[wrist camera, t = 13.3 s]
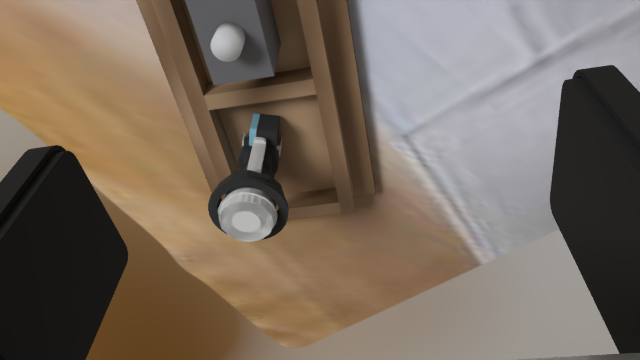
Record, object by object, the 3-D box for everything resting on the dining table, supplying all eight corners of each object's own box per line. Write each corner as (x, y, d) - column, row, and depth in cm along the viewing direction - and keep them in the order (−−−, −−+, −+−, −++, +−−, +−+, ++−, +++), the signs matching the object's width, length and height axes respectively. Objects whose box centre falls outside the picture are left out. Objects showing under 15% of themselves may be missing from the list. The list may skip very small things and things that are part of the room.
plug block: (260, -45, 34) (245, -11, 29) (281, 43, 37) (271, 88, 32) (200, -33, 34) (175, 2, 29) (226, 52, 38) (208, 97, 33)
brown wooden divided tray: (328, -121, 32) (327, -112, 30) (374, 185, 46) (376, 209, 44) (113, -78, 34) (95, -65, 31) (222, 204, 48) (215, 228, 46)
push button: (292, 180, 45) (282, 267, 37) (229, 173, 45) (206, 260, 37) (299, 112, 41) (290, 195, 33) (230, 105, 40) (204, 186, 33)
